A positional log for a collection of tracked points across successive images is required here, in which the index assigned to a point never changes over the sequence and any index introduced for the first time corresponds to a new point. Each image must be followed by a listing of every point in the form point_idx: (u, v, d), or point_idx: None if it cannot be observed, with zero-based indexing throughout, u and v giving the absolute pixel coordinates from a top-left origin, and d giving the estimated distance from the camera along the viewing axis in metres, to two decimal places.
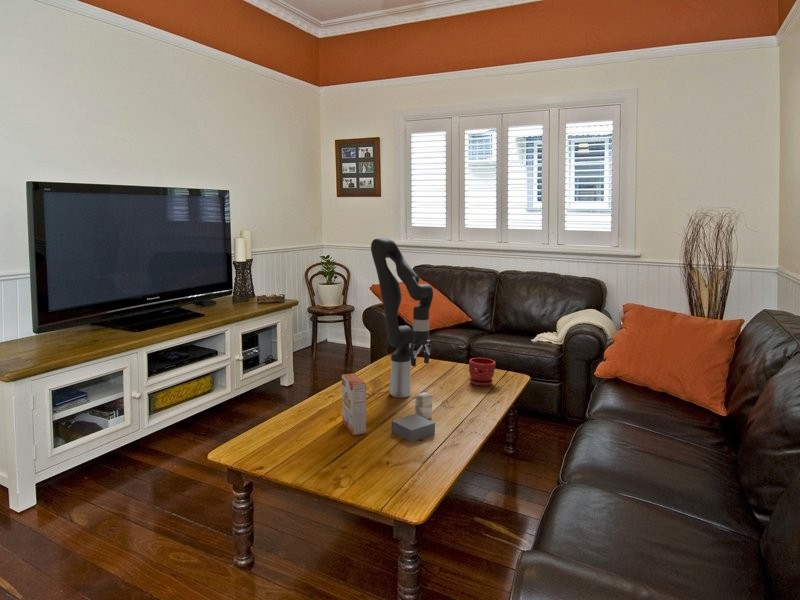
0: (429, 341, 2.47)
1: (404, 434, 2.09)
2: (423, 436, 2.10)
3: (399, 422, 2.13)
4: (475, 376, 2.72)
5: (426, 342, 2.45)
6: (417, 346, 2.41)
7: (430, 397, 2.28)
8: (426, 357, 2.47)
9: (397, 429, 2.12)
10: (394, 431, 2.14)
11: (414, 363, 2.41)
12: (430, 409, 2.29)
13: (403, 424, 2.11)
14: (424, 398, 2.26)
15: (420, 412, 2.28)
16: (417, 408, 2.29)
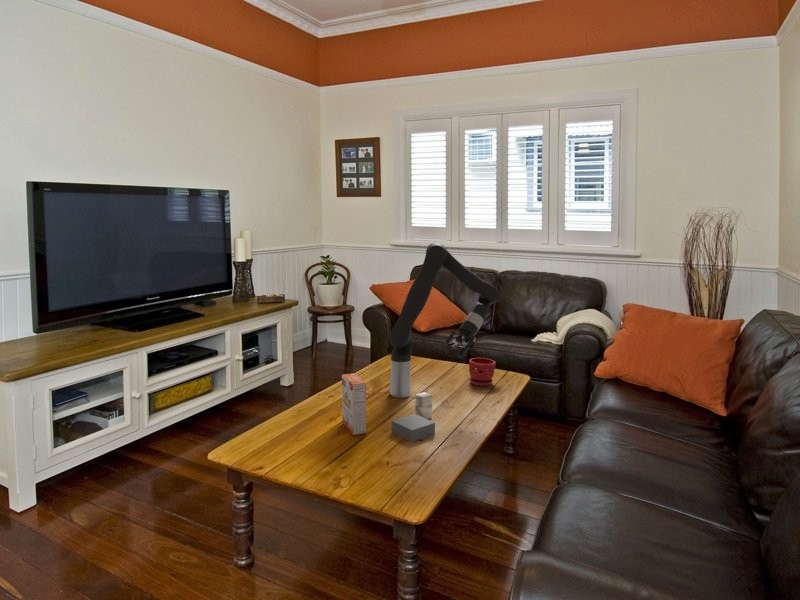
0: None
1: (404, 434, 2.09)
2: (423, 436, 2.10)
3: (399, 422, 2.13)
4: (475, 376, 2.72)
5: None
6: None
7: (430, 397, 2.28)
8: (450, 347, 2.41)
9: (397, 429, 2.12)
10: (394, 431, 2.14)
11: None
12: (430, 409, 2.29)
13: (403, 424, 2.11)
14: (424, 398, 2.26)
15: (420, 412, 2.28)
16: (417, 408, 2.29)
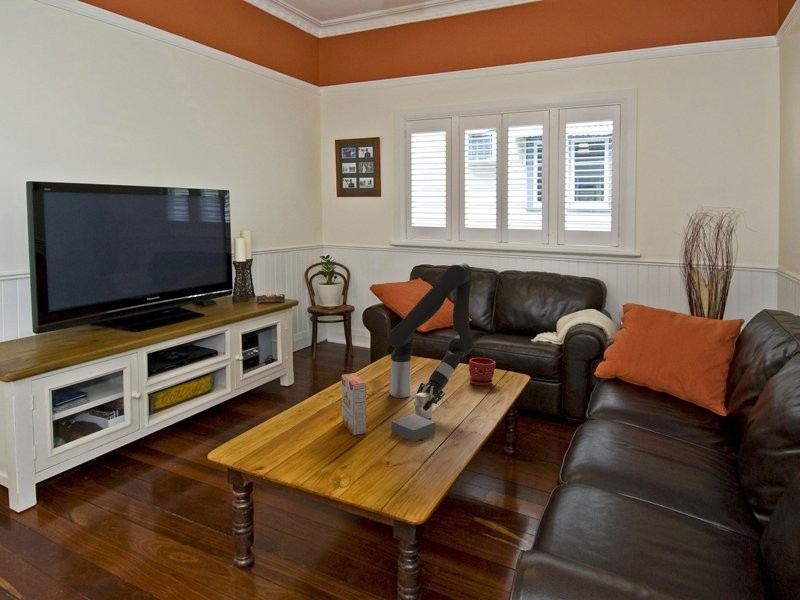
0: None
1: (405, 434, 2.09)
2: (424, 436, 2.10)
3: (399, 422, 2.13)
4: (475, 376, 2.72)
5: None
6: None
7: None
8: None
9: (398, 429, 2.12)
10: (394, 432, 2.13)
11: None
12: (430, 409, 2.29)
13: (404, 424, 2.11)
14: (424, 398, 2.26)
15: (420, 412, 2.28)
16: (417, 407, 2.29)
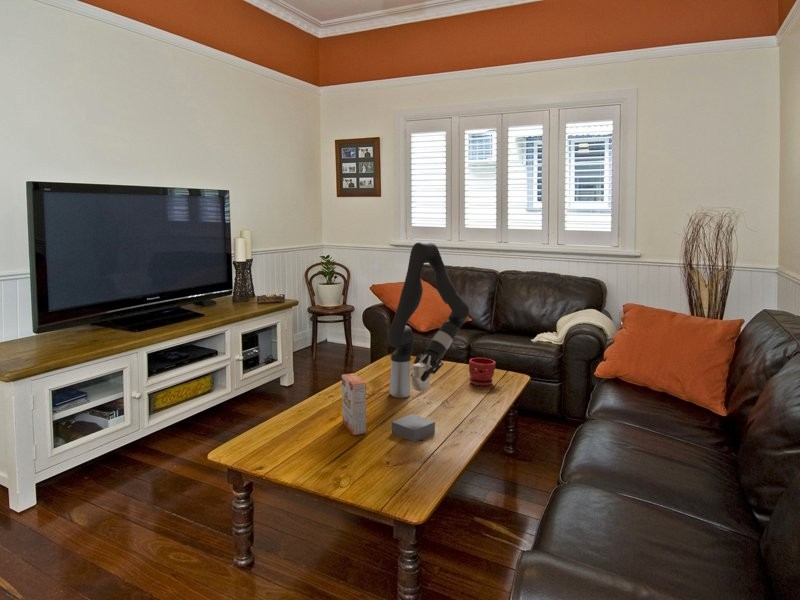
0: None
1: (405, 434, 2.09)
2: (424, 435, 2.10)
3: (399, 422, 2.13)
4: (475, 376, 2.72)
5: None
6: None
7: None
8: None
9: (398, 429, 2.11)
10: (394, 432, 2.13)
11: None
12: (428, 380, 2.18)
13: (404, 424, 2.11)
14: (421, 368, 2.15)
15: (417, 383, 2.16)
16: (414, 378, 2.18)
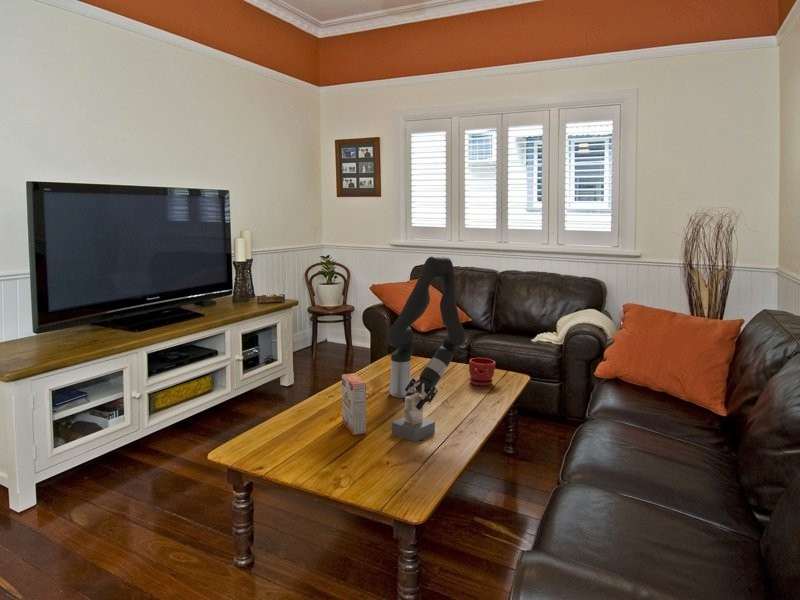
0: None
1: (406, 434, 2.09)
2: (425, 435, 2.11)
3: (400, 423, 2.13)
4: (475, 376, 2.72)
5: None
6: None
7: None
8: None
9: (398, 430, 2.11)
10: (394, 432, 2.13)
11: None
12: (421, 412, 2.13)
13: (404, 425, 2.11)
14: (414, 401, 2.10)
15: (410, 416, 2.11)
16: (407, 411, 2.12)
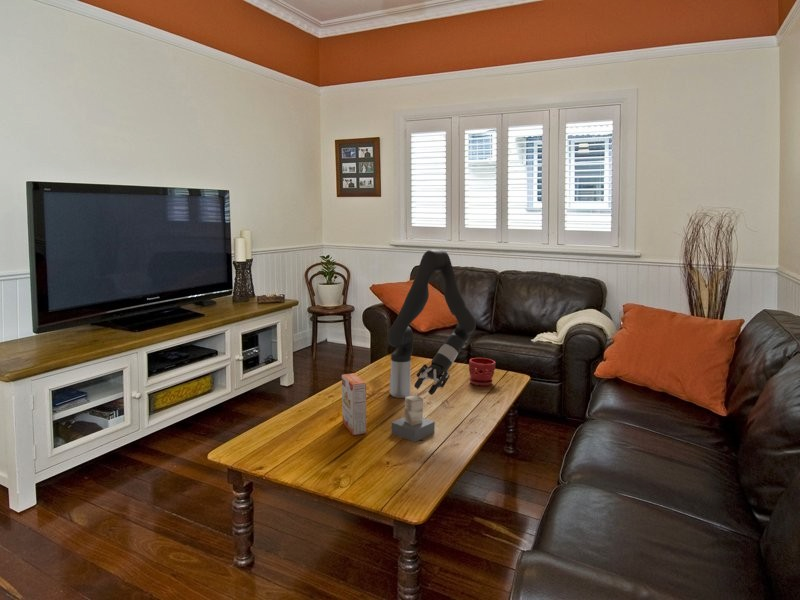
0: None
1: (405, 435, 2.09)
2: (424, 435, 2.11)
3: (399, 423, 2.13)
4: (475, 376, 2.72)
5: None
6: None
7: (420, 401, 2.11)
8: (420, 382, 2.19)
9: (398, 430, 2.11)
10: (394, 433, 2.13)
11: None
12: (421, 413, 2.12)
13: (404, 425, 2.11)
14: (413, 401, 2.09)
15: (409, 417, 2.11)
16: (407, 411, 2.12)
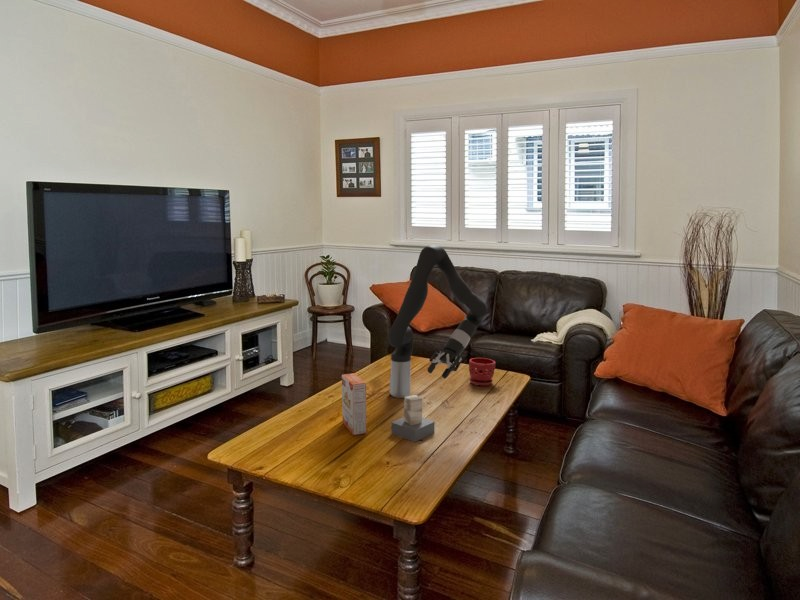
0: None
1: (405, 435, 2.09)
2: (424, 435, 2.11)
3: (399, 423, 2.13)
4: (475, 376, 2.72)
5: None
6: None
7: (420, 400, 2.11)
8: (433, 367, 2.22)
9: (398, 430, 2.11)
10: (394, 433, 2.13)
11: None
12: (420, 413, 2.12)
13: (404, 425, 2.11)
14: (412, 401, 2.09)
15: (409, 416, 2.11)
16: (406, 411, 2.13)
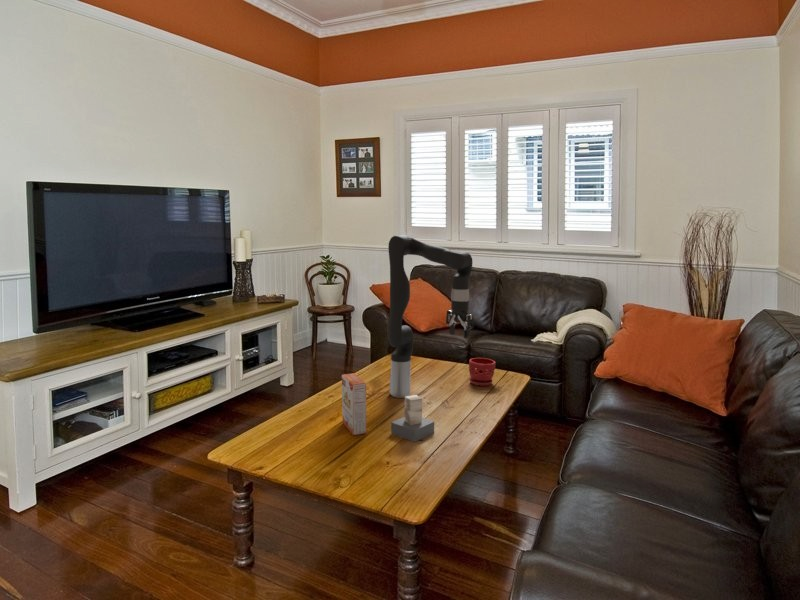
0: (451, 311, 2.38)
1: (405, 434, 2.09)
2: (424, 435, 2.11)
3: (399, 423, 2.13)
4: (475, 376, 2.72)
5: None
6: None
7: (420, 400, 2.11)
8: (453, 328, 2.38)
9: (398, 430, 2.11)
10: (394, 432, 2.13)
11: None
12: (420, 413, 2.12)
13: (404, 425, 2.11)
14: (412, 401, 2.09)
15: (408, 416, 2.11)
16: (406, 411, 2.13)
